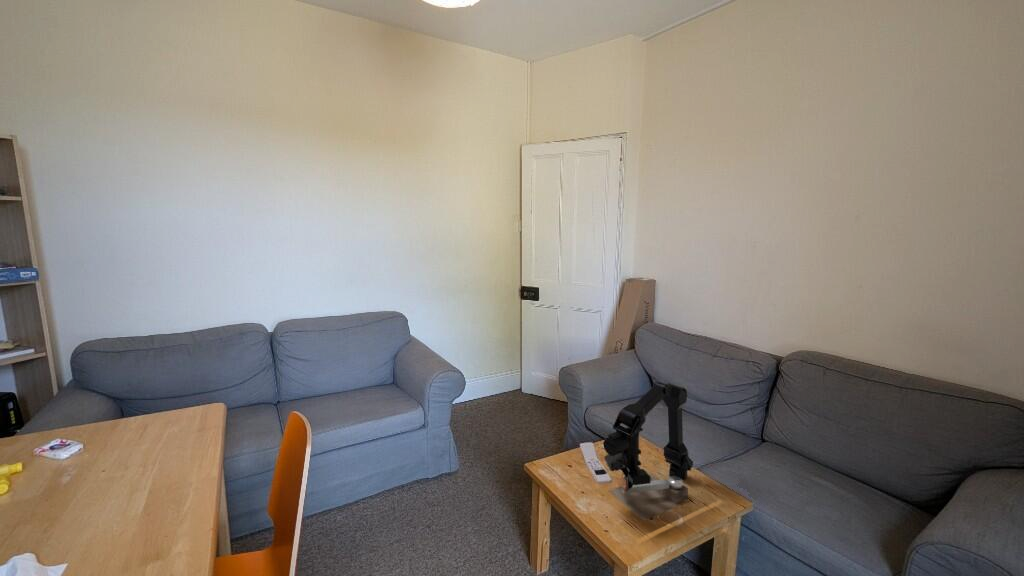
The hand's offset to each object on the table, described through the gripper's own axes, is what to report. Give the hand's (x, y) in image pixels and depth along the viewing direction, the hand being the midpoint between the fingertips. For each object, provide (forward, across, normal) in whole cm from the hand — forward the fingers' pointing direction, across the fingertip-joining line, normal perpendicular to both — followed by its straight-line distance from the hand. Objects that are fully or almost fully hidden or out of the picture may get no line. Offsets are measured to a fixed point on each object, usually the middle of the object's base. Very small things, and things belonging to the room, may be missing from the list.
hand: (629, 488), depth 142 cm
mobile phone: (+9, -26, -3) cm, 28 cm away
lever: (+3, -3, +10) cm, 11 cm away
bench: (+9, -5, +10) cm, 14 cm away
